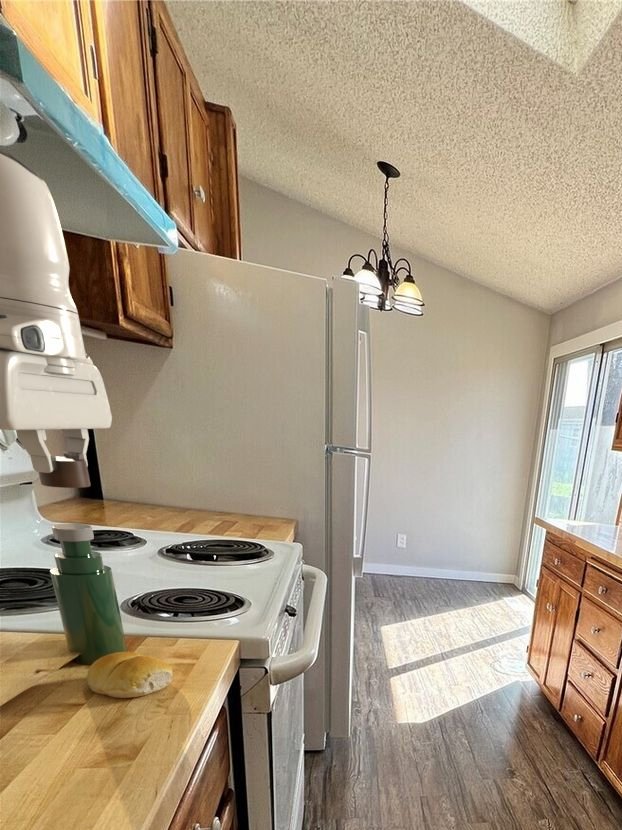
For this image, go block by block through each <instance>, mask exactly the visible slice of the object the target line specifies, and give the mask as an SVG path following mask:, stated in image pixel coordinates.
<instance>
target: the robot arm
mask: <svg viewBox="0 0 622 830" xmlns="http://www.w3.org/2000/svg"><path fill="white" fill-rule="evenodd" d="M54 201H55V200H54V198H53V196H52V193H51V191H50V188H49V187H48V185H47V183H46V181H45V180H44V179H43V177H41V175H40V174H39V173H38V172H37V171H36V170H34V169H33V168H32V167H30V166H29V165H28V164H26V163H25V162H24V161H22V160H21V159H19V158H17V157H16V156H14V155H12V154H11V153H9V152H7V151H4V150H2V149H0V430H5V431H15V433H16V436H17V439H18V441H19V442H20V445H22V446H23V448H24V449H25V451H26V452H27V454H28V455H29V456H30V460H31V465H32V469H33V470H34V471H35V472H37V473H38V472H43V473H51V472H56V471H57V470H58V466H57V465H56V463H57V461H56V457H55V456H56V455H52V454H51V452H50V451H49V449H48V447H47V445H46V443H45V442H46V441H47V434H46V431H48V430H49V431H51V430H52V431H53V430H62V433H63V436H64V437H65V438H66V451H64V452H63V457H72V458H80V459H84V460H86V464H87V467H88V466H89V464H88V459H87V451H88V446H89V441H90V437H89V430H99V429H101V430H102V429H104V430H105V429H110V428H111V426H112V422H113V416H112V411H111V405H110V402H109V398H108V394H107V390H106V386H105V383H104V379H103V377H102V375H101V372H100V370H99V369H98V368H97V366H95V365H94V362H93V359H92V358H90V356H89V355H88V354H87V352H86V349H85V343H84V339H83V334H82V327H81V322H80V317H79V316H80V315H79V312H78V309H77V306H76V304H75V302H74V299H73V298H72V294H71V291H70V286H69V285H70V284H69V280H70V279H69V277H70V269H71V268H70V262H69V257H68V252H67V246H66V242H65V238H64V233H63V229H62V226H61V222H60V218H59V215H58V210H57V208H56V204H55V202H54Z"/></svg>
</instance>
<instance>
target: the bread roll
mask: <svg viewBox="0 0 622 830" xmlns="http://www.w3.org/2000/svg"><path fill="white" fill-rule="evenodd" d="M172 680H173V668H172V667H171V664H169V663H168V662H166V661H165V660H163V659H162V658H158V657H156V656H153V655H146V654H145V655H142V654H140V653H139V652H134V651H127V652H116V653H112V654H109V655H106V656H103V657H101V658H100V659H98V660H96V661H95V662H94V663H93V664H90V666H89V669H88V671H87V674H86V681H87V684H88V687H89V688H90V690H91V691H92V692H94V693H96V694H99V695H104V696H109V697H112V698H116V699H117V698H118V699H119V698H120V699H131V698H132V699H133V698H138V697H144V696H146V695H150V694H152V693H156V692H159V691H161V690H163V689H164V688H166V687H168V686H169V685H170V684H171V683H172Z"/></svg>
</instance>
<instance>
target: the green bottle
mask: <svg viewBox="0 0 622 830" xmlns="http://www.w3.org/2000/svg"><path fill="white" fill-rule="evenodd" d="M51 530H52V534H53V539H54V540H56V541H59V543H60V547H61V550H62V551H59V552H57V553H54V557H53V558H54V560H55V561H54V562H55V566H56V567H53V568H50V570H49V574H50V579H51V582H52V588H53V590H54V595H55V599H56V603H57V608H58V611H59V616H60V619H61V624H62V628H63V632H64V638H65V640H66V645H67V649H68V650H69V651H70V652H72V653H77V654H78V655H77V656H75V657H74V658H72V659H71V661H72V662H73V663H75V664H80V665H92V664H93V663H94V662H95V661H96V660H98V659H100V658H101V657H103V656H106V655H109V654H112V653H116V652H128V647H127V641H126V637H125V631H124V626H123V621H122V616H121V612H120V611H121V610H120V605H119V600H118V595H117V590H116V586H115V585H116V584H115V580H114V575H113V574H114V573H113V569H112V568H111V567H110V566H108V565H104V562H103V556H102V553H101V552H98V551H94V550H93V549H92V545H91V544H92V543H91V541H93V540H94V539H95V536H94V530H93V526H92V525H90V524H85V523H57V524H54V525H52V526H51Z"/></svg>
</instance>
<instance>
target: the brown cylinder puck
mask: <svg viewBox="0 0 622 830" xmlns="http://www.w3.org/2000/svg"><path fill="white" fill-rule="evenodd" d="M54 456H55V457H56V461H57V463H56V465H57V466H58V470H57V471H56V472H51V473H43V472H37V473H38V476H39V481H40V484H41V485H42V486H45V487H51V488H62V489H63V488H64V489H79V488H80V489H83V488H89V487H91V485H92V484H91V480H90V474H89V469H88V466H87V464H86V460H84V459H80V458H72V457H64V456H56V455H54Z"/></svg>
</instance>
